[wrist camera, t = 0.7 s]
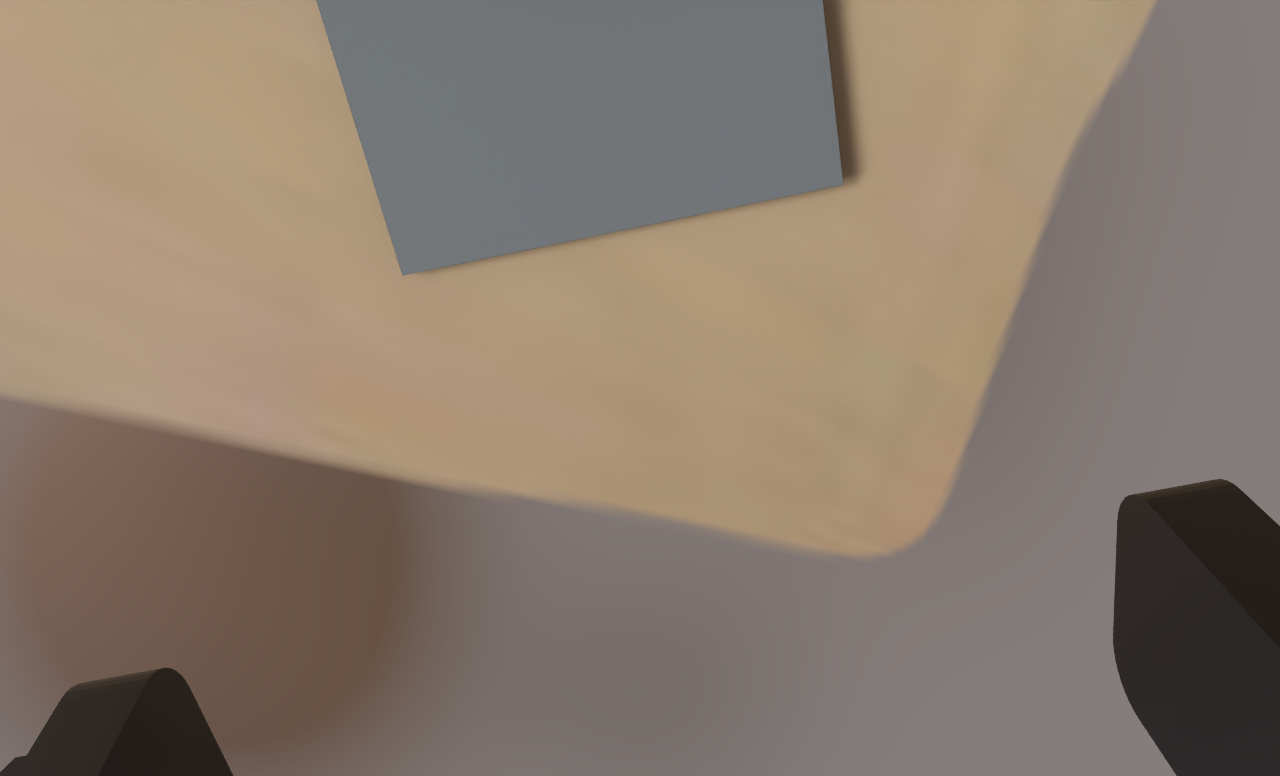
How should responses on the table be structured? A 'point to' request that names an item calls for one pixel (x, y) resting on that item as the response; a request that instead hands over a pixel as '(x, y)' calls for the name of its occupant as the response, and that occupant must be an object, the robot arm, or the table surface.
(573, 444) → the table surface
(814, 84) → the mat
